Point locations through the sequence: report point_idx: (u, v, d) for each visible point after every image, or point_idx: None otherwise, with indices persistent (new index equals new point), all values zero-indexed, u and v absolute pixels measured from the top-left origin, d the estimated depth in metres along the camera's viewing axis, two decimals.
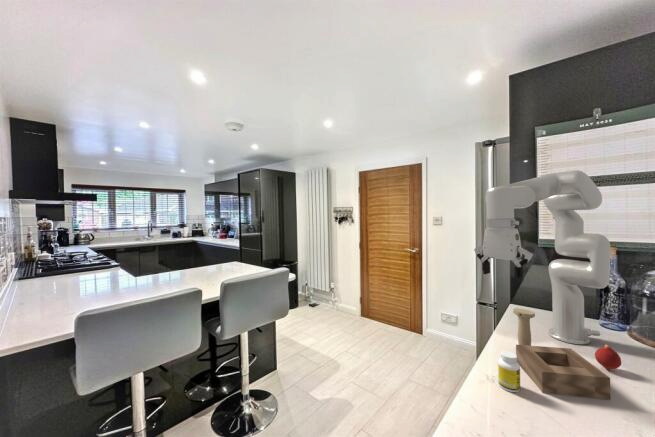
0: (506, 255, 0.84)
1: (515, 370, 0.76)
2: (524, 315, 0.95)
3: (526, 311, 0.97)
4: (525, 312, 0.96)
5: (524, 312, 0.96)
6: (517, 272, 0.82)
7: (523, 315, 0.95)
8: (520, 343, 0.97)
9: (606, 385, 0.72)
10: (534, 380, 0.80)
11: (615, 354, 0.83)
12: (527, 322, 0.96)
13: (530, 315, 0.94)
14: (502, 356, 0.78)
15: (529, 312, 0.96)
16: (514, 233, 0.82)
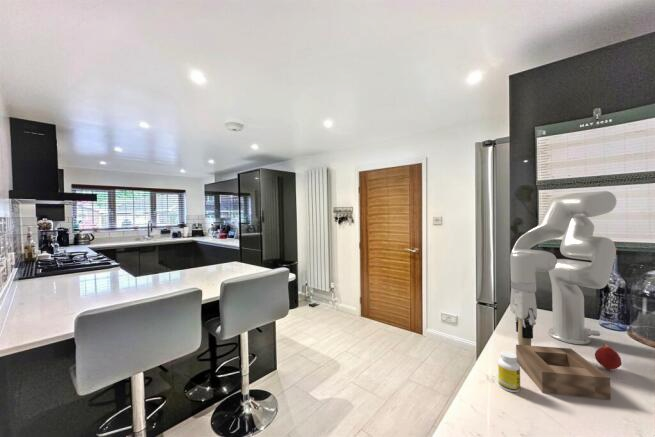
0: None
1: (515, 370, 0.76)
2: None
3: None
4: None
5: None
6: None
7: None
8: (520, 343, 0.97)
9: (606, 385, 0.72)
10: (534, 380, 0.80)
11: (615, 354, 0.83)
12: None
13: None
14: (502, 356, 0.78)
15: None
16: None
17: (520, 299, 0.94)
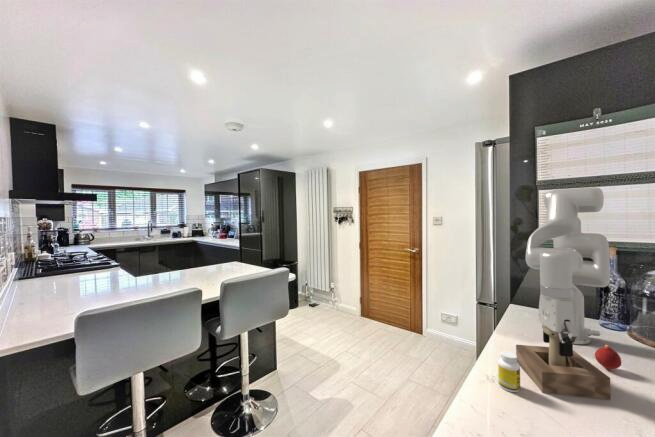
0: None
1: (515, 370, 0.76)
2: (558, 335, 0.79)
3: None
4: None
5: None
6: None
7: (556, 335, 0.80)
8: None
9: (606, 385, 0.72)
10: (534, 380, 0.80)
11: (615, 354, 0.83)
12: None
13: (565, 335, 0.78)
14: (502, 356, 0.78)
15: (563, 331, 0.80)
16: None
17: (554, 308, 0.78)
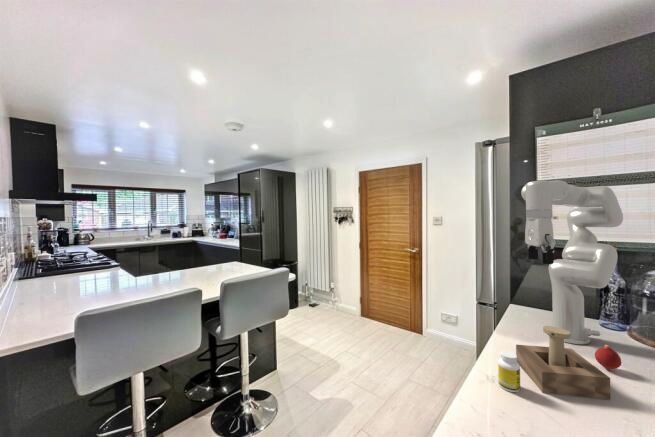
0: None
1: (515, 370, 0.76)
2: (558, 335, 0.79)
3: (559, 330, 0.81)
4: (558, 331, 0.80)
5: (557, 331, 0.81)
6: None
7: (556, 335, 0.80)
8: None
9: (606, 385, 0.72)
10: (534, 380, 0.80)
11: (615, 354, 0.83)
12: (561, 343, 0.80)
13: (565, 335, 0.78)
14: (502, 356, 0.78)
15: (563, 331, 0.80)
16: None
17: (536, 226, 0.93)
